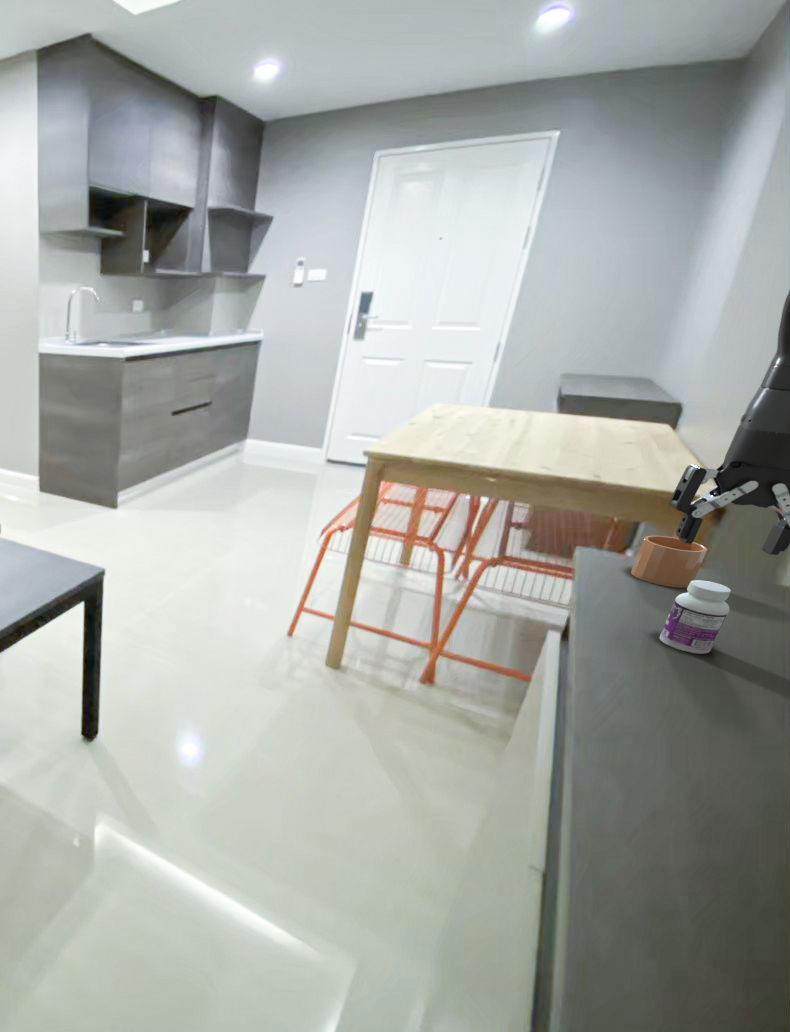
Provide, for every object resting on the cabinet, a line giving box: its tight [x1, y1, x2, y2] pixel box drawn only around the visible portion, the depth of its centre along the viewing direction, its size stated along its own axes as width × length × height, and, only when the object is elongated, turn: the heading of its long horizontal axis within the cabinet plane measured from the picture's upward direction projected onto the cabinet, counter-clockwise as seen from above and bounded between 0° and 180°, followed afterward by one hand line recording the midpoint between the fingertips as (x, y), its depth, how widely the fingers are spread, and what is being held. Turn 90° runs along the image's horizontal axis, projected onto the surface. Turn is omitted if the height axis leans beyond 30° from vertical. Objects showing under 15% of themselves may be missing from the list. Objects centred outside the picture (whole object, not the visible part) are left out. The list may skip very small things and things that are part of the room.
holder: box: [630, 535, 708, 589], centre depth 108 cm, size 8×8×7 cm
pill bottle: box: [659, 579, 732, 655], centre depth 86 cm, size 5×5×10 cm
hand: (726, 547), depth 82 cm, fingers open, 8 cm apart
